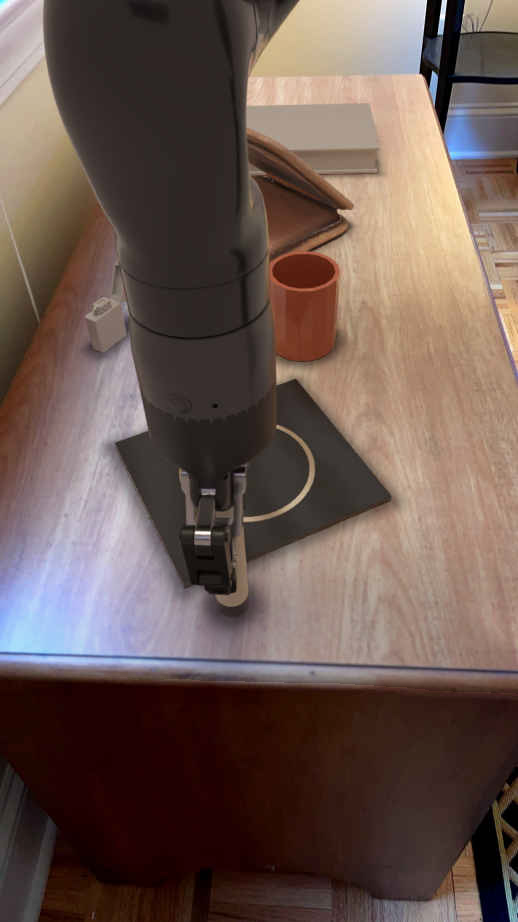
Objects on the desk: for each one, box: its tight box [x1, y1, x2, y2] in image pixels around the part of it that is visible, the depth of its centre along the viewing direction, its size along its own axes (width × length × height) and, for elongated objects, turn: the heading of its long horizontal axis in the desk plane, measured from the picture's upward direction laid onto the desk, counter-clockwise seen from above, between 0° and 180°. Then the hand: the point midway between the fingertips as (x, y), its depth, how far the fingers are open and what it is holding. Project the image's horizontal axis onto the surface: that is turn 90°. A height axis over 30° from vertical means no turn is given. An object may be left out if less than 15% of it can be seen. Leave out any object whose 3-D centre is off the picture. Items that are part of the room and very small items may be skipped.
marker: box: [215, 507, 250, 618], centre depth 51 cm, size 3×3×12 cm
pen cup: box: [269, 250, 341, 362], centre depth 74 cm, size 7×7×9 cm
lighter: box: [84, 261, 128, 354], centre depth 76 cm, size 7×2×8 cm, turn 146°
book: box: [246, 102, 380, 176], centre depth 109 cm, size 18×4×24 cm
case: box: [246, 127, 355, 265], centre depth 88 cm, size 20×21×16 cm
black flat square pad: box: [114, 378, 392, 589], centre depth 64 cm, size 20×18×1 cm
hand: (226, 546), depth 49 cm, fingers open, 6 cm apart
